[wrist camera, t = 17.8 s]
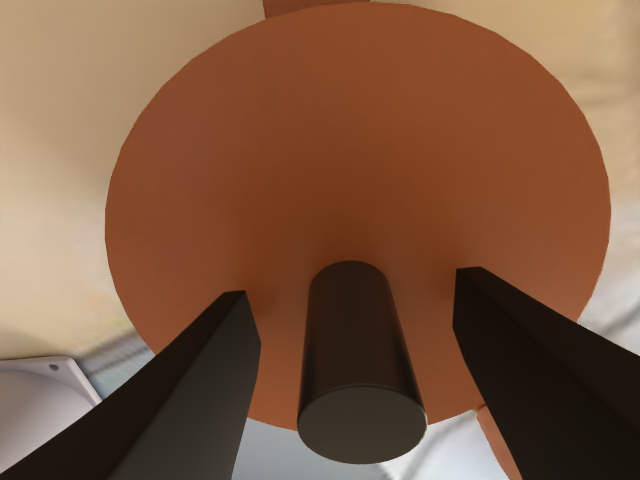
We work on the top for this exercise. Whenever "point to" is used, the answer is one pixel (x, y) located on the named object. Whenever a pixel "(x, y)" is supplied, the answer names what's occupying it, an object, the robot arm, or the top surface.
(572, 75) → the top surface
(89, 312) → the top surface
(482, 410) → the grandmother figurine
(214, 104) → the pot lid
